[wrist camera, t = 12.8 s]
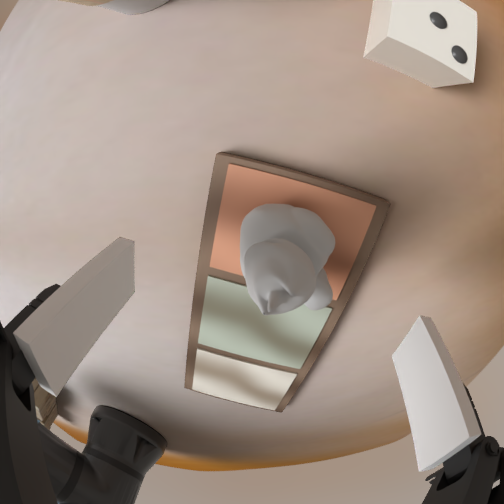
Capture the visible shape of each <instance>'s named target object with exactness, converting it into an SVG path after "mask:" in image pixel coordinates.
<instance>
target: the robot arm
mask: <svg viewBox="0 0 504 504" xmlns="http://www.w3.org/2000/svg"><path fill="white" fill-rule="evenodd" d="M134 292H135V287H134V241H132V240H129V239H126V238H122V237H119V238H118V239H116V240H115V241H114V242H113V243H111V244H110V245H109V246H108V247H106V248H105V249H104V250H103V251H101V252H100V253H99V254H98V255H97V256H95V257H94V258H93V259H92V260H90V261H89V262H88V263H87V264H86V265H85V266H83V267H82V268H81V269H80V270H79V271H78V272H76V273H75V274H74V275H73V276H72V277H71V278H69V279H68V280H67V281H66V282H65V283H64V284H63V285H62V286H60V285H58V284H55V285H53V286H51V287H48V288H46V289H44V290H43V291H42V292H41V293H40V294H39V295H38V296H37V297H36V299H33V300H32V301H31V302H30V303H29V306H28V305H27V306H26V307H25V308H24V309H23V310H22V311H21V312H20V313H19V314H18V315H17V316H16V317H15V318H14V319H13V320H12V321H11V322H10V323H9V324H8V325H7V326H6V327H5V328H3V326H2V324H1V322H0V504H134V503H135V500H136V498H137V495H138V492H139V490H140V487H141V484H142V481H143V479H144V476H145V474H146V472H147V471H148V470H149V469H150V468H151V467H152V466H153V465H154V464H155V463H156V462H157V461H158V460H159V458H160V457H161V456H162V455H163V454H164V452H165V449H166V446H167V442H166V440H165V439H164V438H163V437H162V436H161V435H160V434H159V433H157V432H156V431H155V430H153V429H152V428H150V427H149V426H147V425H146V424H144V423H142V422H140V421H139V420H137V419H135V418H133V417H131V416H129V415H127V414H125V413H123V412H120V411H118V410H115V409H113V408H109V407H105V406H97V407H96V408H95V409H94V411H93V413H92V415H91V418H90V425H89V432H88V440H87V444H86V447H85V448H84V451H83V452H82V454H81V453H80V452H78V451H77V450H76V449H74V448H73V447H71V446H70V445H68V444H67V443H66V442H64V441H63V440H61V439H60V438H59V437H57V436H56V435H55V434H53V433H52V432H51V431H50V430H48V429H47V428H46V427H45V426H44V425H42V424H41V423H40V421H39V420H37V415H36V407H35V398H34V388H33V384H32V382H33V380H34V379H35V378H36V379H37V381H38V383H39V384H40V386H41V387H42V388H43V389H45V390H46V391H48V392H49V393H51V394H52V395H54V396H55V397H57V396H58V394H59V393H60V391H61V390H62V388H63V387H64V386H65V384H66V383H67V381H68V380H69V378H70V377H71V375H72V374H73V373H74V371H75V370H76V368H77V367H78V365H79V364H80V363H81V361H82V360H83V359H84V357H85V356H86V354H87V353H88V352H89V350H90V349H91V348H92V346H93V345H94V344H95V342H96V341H97V340H98V338H99V337H100V336H101V334H102V333H103V332H104V330H105V329H106V328H107V326H108V325H109V324H110V323H111V321H112V320H113V319H114V317H115V316H116V315H117V314H118V312H119V311H120V310H121V309H122V307H123V306H124V305H125V304H126V302H127V301H128V300H129V299H130V297H131V296H132V295H133V294H134ZM392 359H393V362H394V365H395V369H396V372H397V375H398V379H399V383H400V386H401V390H402V394H403V398H404V401H405V405H406V410H407V414H408V418H409V422H410V427H411V432H412V436H413V441H414V446H415V452H416V457H417V463H418V470H419V472H420V471H426V470H430V469H433V468H435V467H437V466H438V465H440V464H441V463H443V466H444V467H443V468H442V469H440V470H438V471H436V472H435V473H433V474H431V475H430V476H428V477H427V478H426V481H428V480H430V479H431V478H433V477H435V479H433V480H431V481H430V484H432V486H431V488H430V490H429V492H428V493H427V496H426V497H425V499H424V501H423V503H422V504H504V448H502V447H499V444H498V442H497V441H496V440H495V438H493V437H491V436H487V437H485V434H484V432H483V428H482V426H481V423H480V420H479V417H478V414H477V411H476V409H474V407H475V406H474V404H473V401H471V400H472V398H471V396H470V393H469V391H468V389H467V388H466V386H465V385H464V384H463V382H462V380H461V378H460V376H459V373H458V371H457V369H456V367H455V365H454V362H453V360H452V358H451V356H450V354H449V352H448V350H447V348H446V346H445V344H444V342H443V340H442V338H441V336H440V334H439V332H438V330H437V328H436V326H435V324H434V322H433V321H432V319H431V318H430V317H425V316H421V315H419V317H418V319H417V320H416V322H415V323H414V325H413V326H412V328H411V329H410V331H409V332H408V334H407V335H406V337H405V338H404V340H403V341H402V343H401V344H400V345H399V347H398V348H397V350H396V351H395V352H394V354H393V355H392ZM499 479H500V484H499V485H498V486H496V487H495V488H493V489H492V486H493V483H494V482H496V481H497V480H499Z"/></svg>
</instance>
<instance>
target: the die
mask: <svg viewBox="0 0 504 504" xmlns="http://www.w3.org/2000/svg"><path fill="white" fill-rule="evenodd" d="M476 49H477V12H476V11H474V10H473V9H471V8H470V7H468V6H467V5H465V4H464V3H462V2H461V1H459V0H373V6H372V12H371V18H370V24H369V30H368V36H367V41H366V46H365V52H364V57H363V58H366V59H368V60H371V61H374V62H376V63H379V64H382V65H384V66H387V67H389V68H391V69H394V70H396V71H398V72H401V73H403V74H405V75H407V76H409V77H412V78H414V79H416V80H418V81H420V82H422V83H424V84H426V85H428V86H430V87H432V88H437V87H443V86H450V85H457V84H465V83H473V82H474V74H475V63H476Z"/></svg>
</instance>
